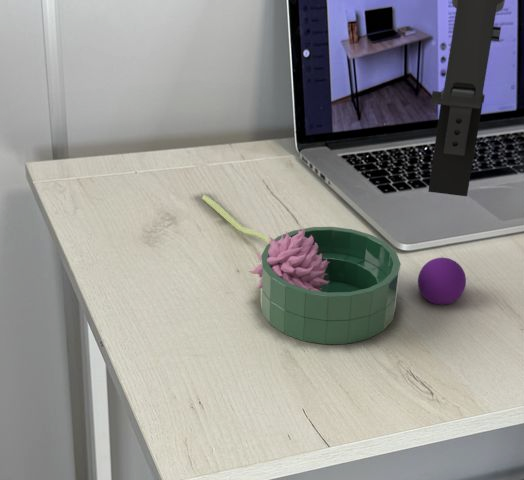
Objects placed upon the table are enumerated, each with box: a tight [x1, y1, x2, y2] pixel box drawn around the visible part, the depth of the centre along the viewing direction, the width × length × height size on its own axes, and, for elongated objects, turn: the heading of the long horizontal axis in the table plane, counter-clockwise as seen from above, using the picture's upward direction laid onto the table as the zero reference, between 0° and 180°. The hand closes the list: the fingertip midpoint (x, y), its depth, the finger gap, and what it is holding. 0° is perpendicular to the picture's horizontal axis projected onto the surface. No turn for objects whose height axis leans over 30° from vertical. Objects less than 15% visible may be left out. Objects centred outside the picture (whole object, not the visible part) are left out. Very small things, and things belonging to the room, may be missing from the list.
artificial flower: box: [201, 194, 330, 291], centre depth 80 cm, size 7×7×25 cm
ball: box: [417, 257, 467, 306], centre depth 75 cm, size 4×4×4 cm
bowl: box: [260, 226, 402, 345], centre depth 73 cm, size 11×11×5 cm
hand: (454, 155), depth 68 cm, fingers open, 13 cm apart
